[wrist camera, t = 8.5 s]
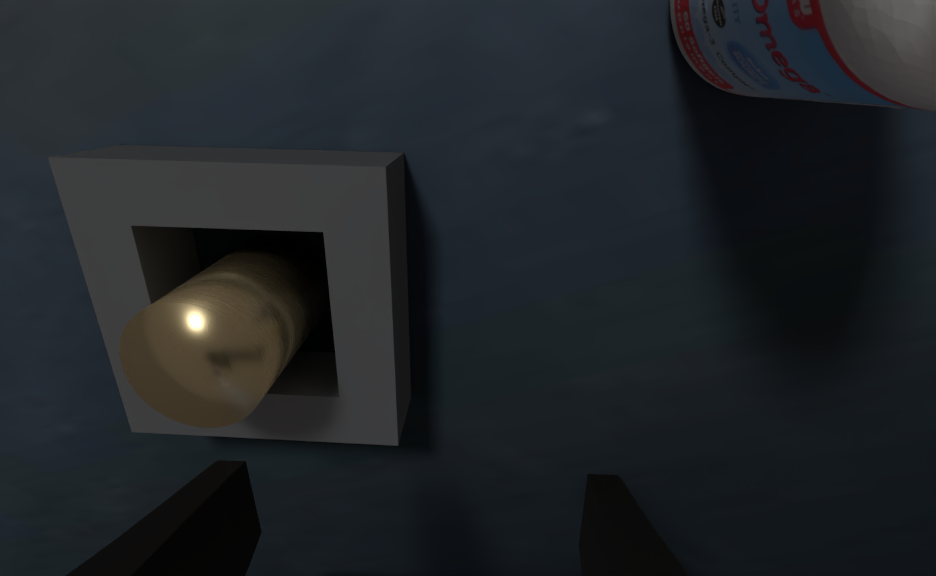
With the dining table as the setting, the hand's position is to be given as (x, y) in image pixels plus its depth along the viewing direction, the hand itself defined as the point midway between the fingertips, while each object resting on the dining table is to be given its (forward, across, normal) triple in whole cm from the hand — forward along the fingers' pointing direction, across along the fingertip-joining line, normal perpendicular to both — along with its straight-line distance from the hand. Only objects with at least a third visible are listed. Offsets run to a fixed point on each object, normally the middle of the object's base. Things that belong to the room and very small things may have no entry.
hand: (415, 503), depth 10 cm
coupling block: (+9, +7, -1) cm, 12 cm away
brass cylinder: (+9, +7, -1) cm, 12 cm away
